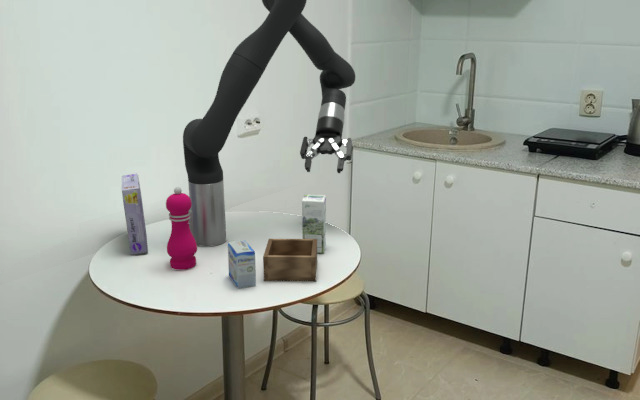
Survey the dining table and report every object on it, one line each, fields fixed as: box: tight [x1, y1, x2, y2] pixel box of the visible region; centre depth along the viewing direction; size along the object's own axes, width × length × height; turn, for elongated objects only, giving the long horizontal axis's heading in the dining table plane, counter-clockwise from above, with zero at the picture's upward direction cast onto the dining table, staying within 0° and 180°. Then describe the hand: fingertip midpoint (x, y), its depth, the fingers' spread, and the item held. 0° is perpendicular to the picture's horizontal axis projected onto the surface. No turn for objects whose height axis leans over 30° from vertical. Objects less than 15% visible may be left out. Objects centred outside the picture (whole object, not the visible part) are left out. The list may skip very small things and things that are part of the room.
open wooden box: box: [262, 238, 318, 282], centre depth 141 cm, size 12×12×6 cm
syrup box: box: [301, 194, 327, 254], centre depth 153 cm, size 6×6×14 cm
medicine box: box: [227, 240, 257, 289], centre depth 135 cm, size 8×4×9 cm, turn 23°
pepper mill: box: [165, 186, 198, 271], centre depth 142 cm, size 7×7×20 cm
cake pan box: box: [121, 173, 149, 255], centre depth 158 cm, size 19×5×18 cm, turn 18°
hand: (323, 171), depth 161 cm, fingers open, 8 cm apart
